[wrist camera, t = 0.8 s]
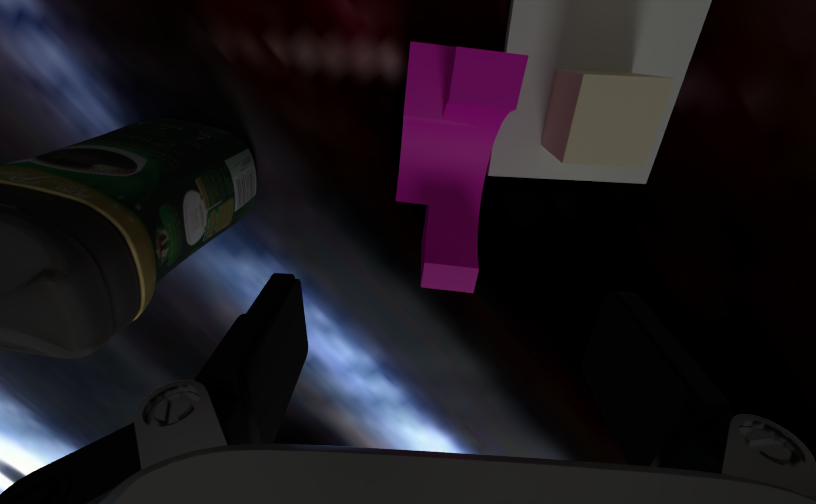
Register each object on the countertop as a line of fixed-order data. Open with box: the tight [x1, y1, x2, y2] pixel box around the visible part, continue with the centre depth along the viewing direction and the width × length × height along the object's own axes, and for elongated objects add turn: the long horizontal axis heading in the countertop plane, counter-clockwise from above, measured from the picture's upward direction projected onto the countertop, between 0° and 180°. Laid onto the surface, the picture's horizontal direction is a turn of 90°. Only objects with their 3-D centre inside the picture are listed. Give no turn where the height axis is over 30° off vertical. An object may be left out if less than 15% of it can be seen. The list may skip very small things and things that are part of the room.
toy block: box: [396, 42, 529, 293], centre depth 26 cm, size 15×6×8 cm, turn 174°
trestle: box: [487, 0, 712, 184], centre depth 22 cm, size 12×20×6 cm, turn 178°
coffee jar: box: [0, 118, 257, 358], centre depth 22 cm, size 10×8×19 cm
